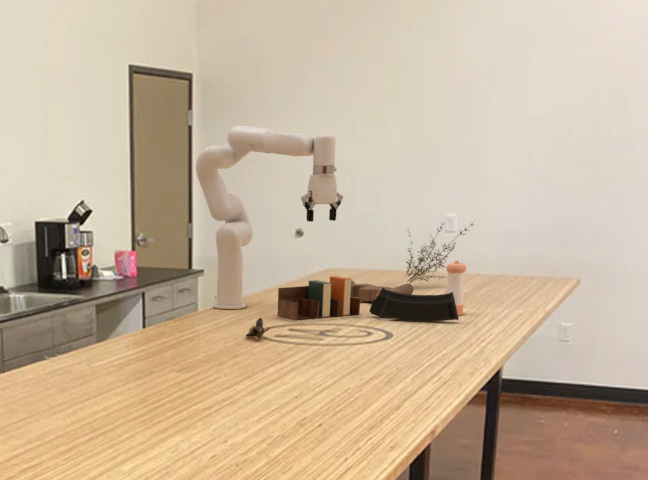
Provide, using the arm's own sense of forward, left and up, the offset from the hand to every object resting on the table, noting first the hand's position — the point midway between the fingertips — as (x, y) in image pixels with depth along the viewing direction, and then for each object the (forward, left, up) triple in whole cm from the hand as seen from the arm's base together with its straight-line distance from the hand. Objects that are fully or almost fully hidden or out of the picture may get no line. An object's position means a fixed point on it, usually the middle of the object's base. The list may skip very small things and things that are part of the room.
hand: (321, 220), depth 382 cm
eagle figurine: (+36, -48, -34) cm, 69 cm away
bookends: (-27, +42, -34) cm, 60 cm away
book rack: (+8, -5, -33) cm, 35 cm away
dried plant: (-47, +90, -34) cm, 107 cm away
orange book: (+8, +4, -32) cm, 34 cm away
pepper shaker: (+24, +43, -34) cm, 60 cm away
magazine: (+30, +20, -34) cm, 49 cm away
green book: (+8, -5, -32) cm, 34 cm away
